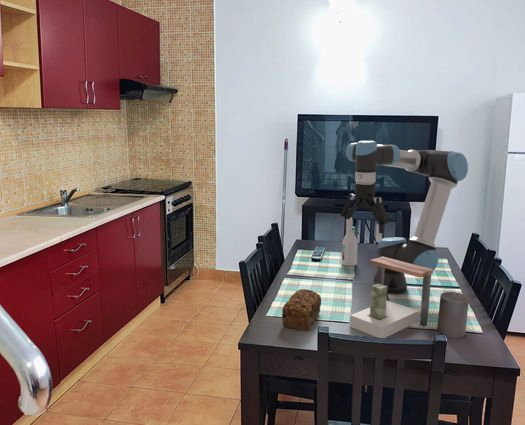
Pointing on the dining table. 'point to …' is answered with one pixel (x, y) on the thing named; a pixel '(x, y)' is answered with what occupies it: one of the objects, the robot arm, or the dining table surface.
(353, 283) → the dining table surface
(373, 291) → the peg
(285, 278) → the dining table surface
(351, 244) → the milk bottle
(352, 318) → the socket stand
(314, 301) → the bread
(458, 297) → the pillar candle
